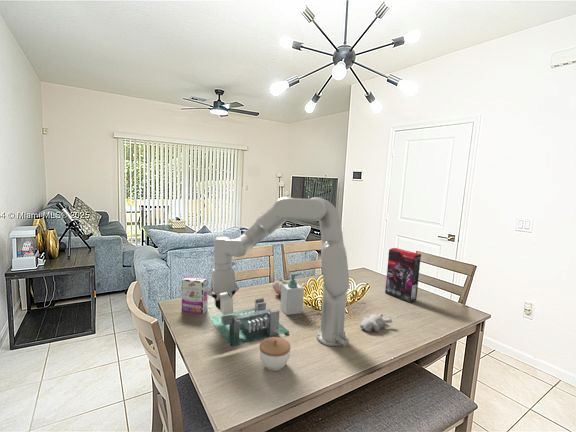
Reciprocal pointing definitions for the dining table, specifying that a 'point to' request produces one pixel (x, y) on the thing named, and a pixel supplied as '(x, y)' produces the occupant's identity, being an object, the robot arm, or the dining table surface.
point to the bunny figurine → (374, 322)
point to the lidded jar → (274, 352)
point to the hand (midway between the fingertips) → (223, 306)
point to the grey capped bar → (242, 317)
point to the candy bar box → (194, 295)
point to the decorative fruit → (278, 285)
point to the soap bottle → (292, 296)
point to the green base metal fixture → (250, 326)
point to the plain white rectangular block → (225, 303)
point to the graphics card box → (403, 274)
